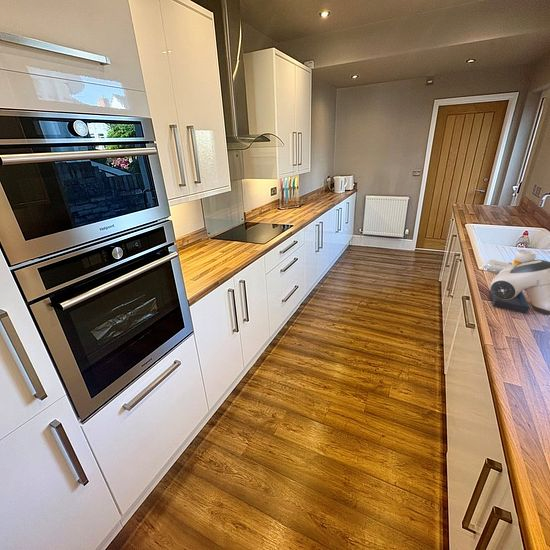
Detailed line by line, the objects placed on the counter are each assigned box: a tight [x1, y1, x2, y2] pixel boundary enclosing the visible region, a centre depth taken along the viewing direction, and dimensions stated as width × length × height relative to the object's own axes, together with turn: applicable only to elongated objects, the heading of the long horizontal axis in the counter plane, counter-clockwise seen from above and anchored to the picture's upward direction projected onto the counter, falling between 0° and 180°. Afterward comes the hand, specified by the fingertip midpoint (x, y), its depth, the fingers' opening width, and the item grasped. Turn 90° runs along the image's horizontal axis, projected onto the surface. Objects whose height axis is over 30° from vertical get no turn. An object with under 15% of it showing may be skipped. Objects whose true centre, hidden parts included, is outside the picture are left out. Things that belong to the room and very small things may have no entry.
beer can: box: [511, 249, 537, 265], centre depth 116 cm, size 6×6×15 cm
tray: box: [489, 288, 531, 314], centre depth 124 cm, size 11×15×3 cm
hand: (521, 267), depth 116 cm, fingers closed on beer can, 6 cm apart
